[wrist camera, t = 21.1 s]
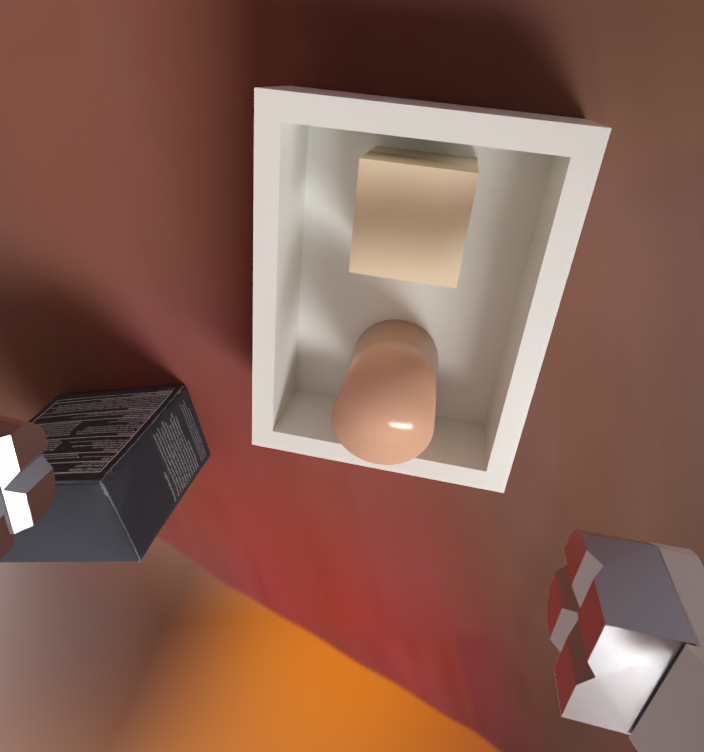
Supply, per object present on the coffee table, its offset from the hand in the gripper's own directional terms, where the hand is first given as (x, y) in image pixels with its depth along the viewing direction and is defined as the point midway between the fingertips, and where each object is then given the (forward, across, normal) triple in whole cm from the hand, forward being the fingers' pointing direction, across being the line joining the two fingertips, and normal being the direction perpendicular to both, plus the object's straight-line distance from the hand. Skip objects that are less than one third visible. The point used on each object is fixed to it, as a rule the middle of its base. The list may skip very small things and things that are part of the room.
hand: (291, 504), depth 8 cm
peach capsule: (+23, 0, +9) cm, 25 cm away
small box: (+24, +18, +18) cm, 36 cm away
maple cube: (+23, 0, 0) cm, 23 cm away
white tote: (+24, 0, +4) cm, 25 cm away
